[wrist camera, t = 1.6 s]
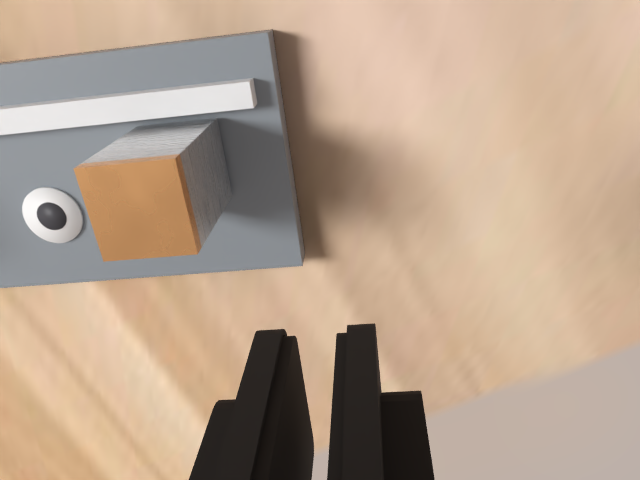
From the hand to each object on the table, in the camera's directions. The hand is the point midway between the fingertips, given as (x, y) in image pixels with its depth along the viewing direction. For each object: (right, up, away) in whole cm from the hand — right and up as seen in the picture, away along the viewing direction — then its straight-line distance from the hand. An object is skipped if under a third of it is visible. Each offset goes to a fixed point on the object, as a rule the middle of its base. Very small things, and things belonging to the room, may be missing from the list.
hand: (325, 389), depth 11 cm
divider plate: (-16, +6, +19) cm, 26 cm away
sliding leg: (-7, +7, +17) cm, 19 cm away
